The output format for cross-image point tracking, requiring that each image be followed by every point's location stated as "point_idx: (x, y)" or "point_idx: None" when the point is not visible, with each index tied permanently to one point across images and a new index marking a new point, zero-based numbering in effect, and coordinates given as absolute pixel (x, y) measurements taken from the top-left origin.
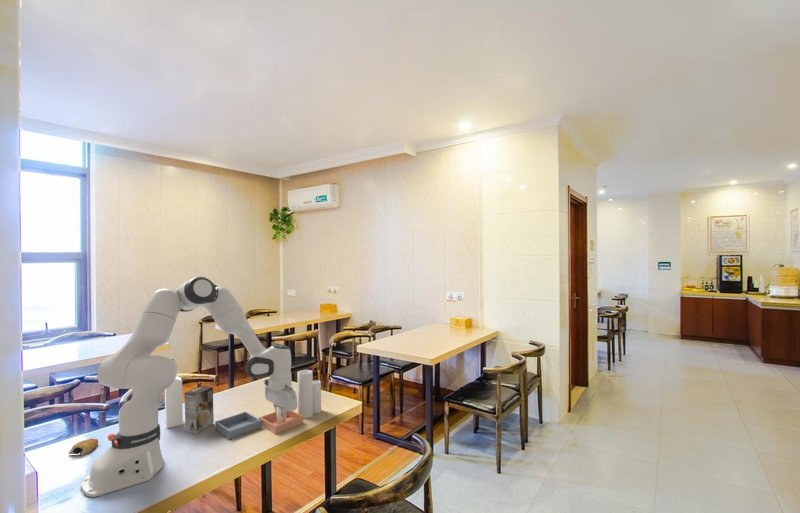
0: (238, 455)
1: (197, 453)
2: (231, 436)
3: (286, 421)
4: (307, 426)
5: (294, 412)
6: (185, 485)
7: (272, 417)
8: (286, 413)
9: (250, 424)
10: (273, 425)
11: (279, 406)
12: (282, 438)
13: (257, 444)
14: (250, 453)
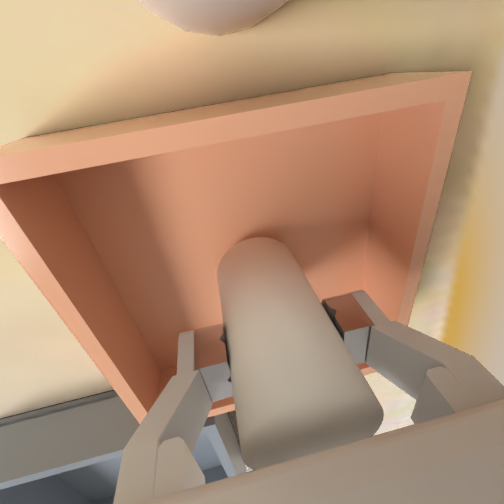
0: (383, 427)
1: None
2: (244, 467)
3: (234, 212)
4: (465, 61)
5: (256, 130)
6: None
7: (119, 320)
8: (384, 318)
9: (231, 456)
10: (369, 371)
11: (306, 451)
12: (427, 295)
13: (369, 385)
14: (408, 403)
